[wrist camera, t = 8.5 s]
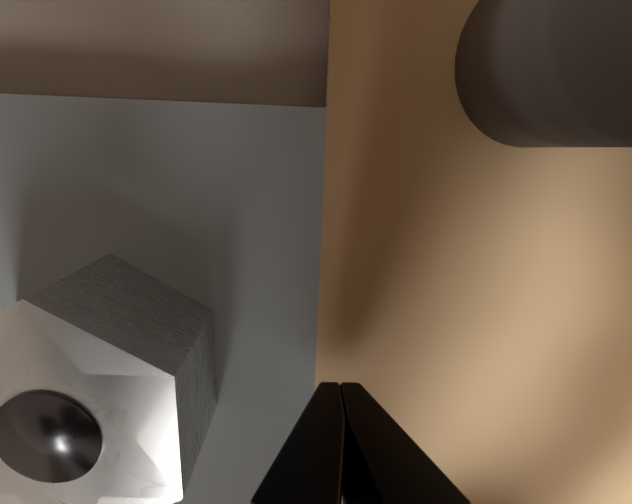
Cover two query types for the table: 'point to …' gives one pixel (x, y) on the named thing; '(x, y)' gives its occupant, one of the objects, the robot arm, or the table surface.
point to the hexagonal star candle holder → (104, 389)
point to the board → (485, 237)
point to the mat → (183, 240)
